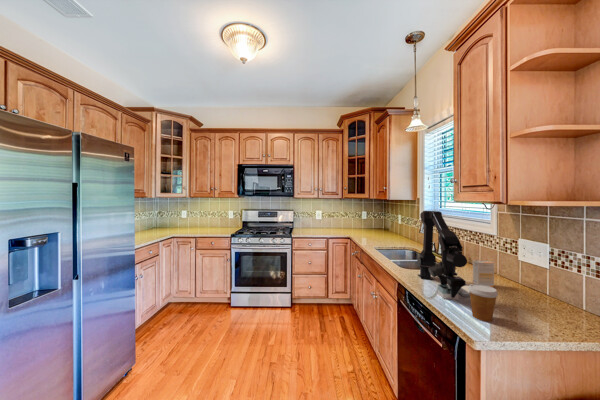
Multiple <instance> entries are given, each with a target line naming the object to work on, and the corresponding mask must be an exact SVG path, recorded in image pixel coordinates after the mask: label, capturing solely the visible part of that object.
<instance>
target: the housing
mask: <svg viewBox="0 0 600 400" xmlns="http://www.w3.org/2000/svg"><path fill="white" fill-rule="evenodd" d="M437 295H438V296H439V297H440V296H441V297H442V298H445V299H444V300H458V301H459V299H460V298H459V297H460V295H459V291H458V293H457V294H456V296H455V297H454V298H452V297H451V291H450V286H449V285H448V284H447V285H441V284H437ZM441 297H440V298H441ZM442 298H441V299H442Z"/></svg>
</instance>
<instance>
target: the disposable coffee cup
mask: <svg viewBox="0 0 600 400" xmlns="http://www.w3.org/2000/svg"><path fill="white" fill-rule="evenodd" d="M468 285H469V287H468V290H469V292H470V305H471V306H470V307H471V314H472V315H471V316H472V317H473V318H474V317H475V319H476V318H477V319H476V320H478V319H479V321H481V320H482V322H486V321H487V322H492V321H493V319H494V318H493V317H494V313H495V307H496V301H497V297H498V296H499V293H498V291H497V289H496V288H494V287H490V286H487V285H482V284H473V283H470V284H468Z"/></svg>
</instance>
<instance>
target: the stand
mask: <svg viewBox="0 0 600 400" xmlns="http://www.w3.org/2000/svg"><path fill="white" fill-rule="evenodd" d="M469 285H470V284H466V285H465V286H463V287H461V289H460V290H459V294H460V295H461V296H462V297H463V298H470V292H469V290H468V287H469Z"/></svg>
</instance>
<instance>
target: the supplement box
mask: <svg viewBox="0 0 600 400" xmlns="http://www.w3.org/2000/svg"><path fill="white" fill-rule="evenodd" d="M472 284H482V285H487V286H490V287H493V288H494V287H495V262H492V261H490V260H472Z"/></svg>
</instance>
